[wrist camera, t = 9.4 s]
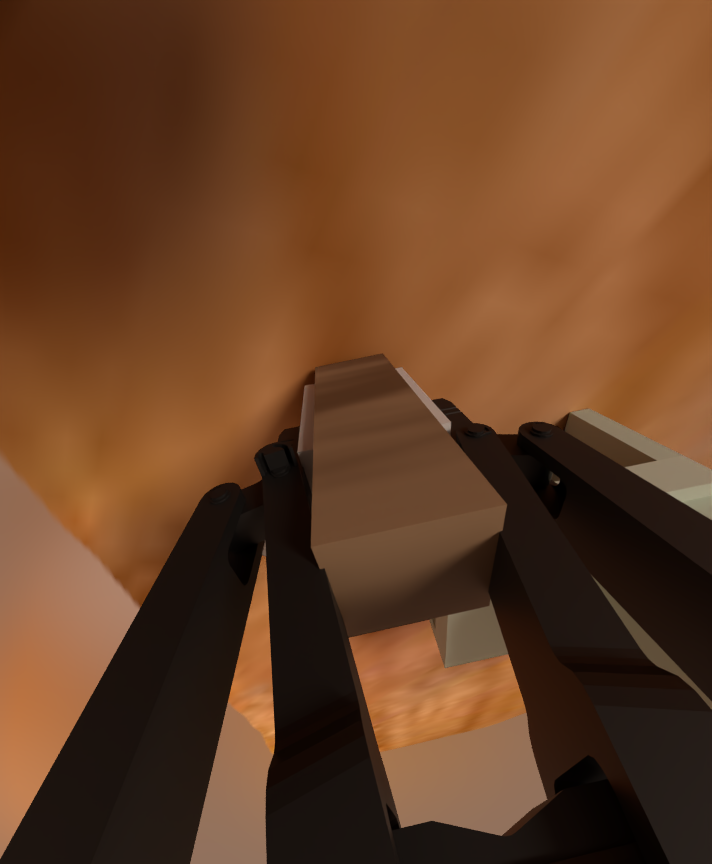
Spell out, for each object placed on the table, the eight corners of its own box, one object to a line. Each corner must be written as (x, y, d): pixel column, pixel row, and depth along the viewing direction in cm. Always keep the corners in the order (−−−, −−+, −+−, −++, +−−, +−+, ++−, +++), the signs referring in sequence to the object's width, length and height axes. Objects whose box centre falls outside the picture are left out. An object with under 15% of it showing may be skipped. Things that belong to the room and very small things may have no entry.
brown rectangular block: (315, 367, 16) (310, 546, 5) (382, 353, 16) (506, 504, 5) (362, 555, 25) (394, 753, 15) (405, 546, 25) (466, 736, 15)
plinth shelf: (405, 445, 20) (608, 842, 6) (589, 408, 20) (1176, 701, 6) (413, 571, 28) (506, 858, 14) (543, 543, 28) (755, 797, 15)
